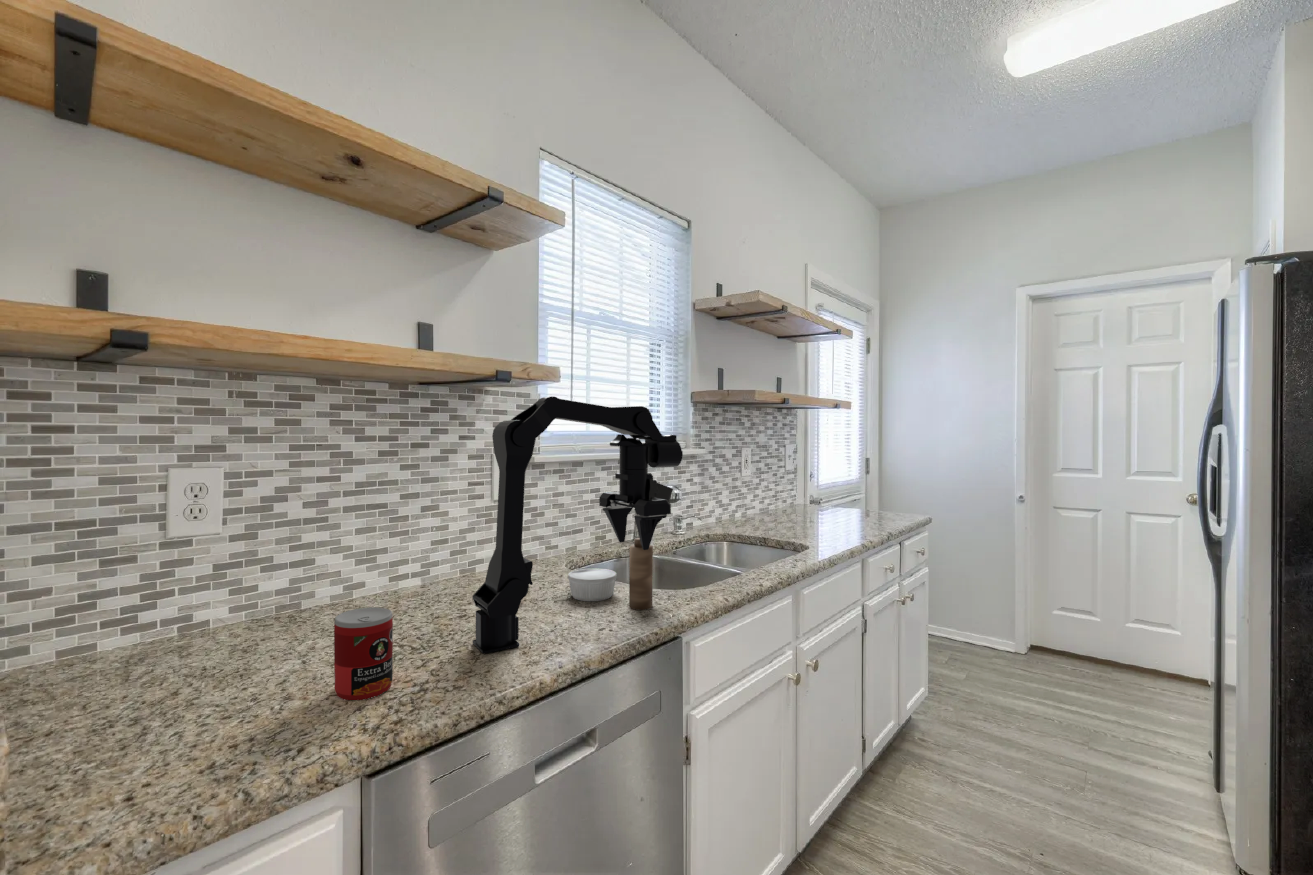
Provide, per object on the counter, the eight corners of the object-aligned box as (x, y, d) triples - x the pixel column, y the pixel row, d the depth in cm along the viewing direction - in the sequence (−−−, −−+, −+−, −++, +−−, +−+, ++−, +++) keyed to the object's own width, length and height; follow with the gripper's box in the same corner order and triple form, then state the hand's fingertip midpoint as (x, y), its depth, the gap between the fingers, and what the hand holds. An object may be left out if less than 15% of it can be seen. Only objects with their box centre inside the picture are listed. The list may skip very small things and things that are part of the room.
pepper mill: (637, 611, 126) (637, 541, 126) (625, 605, 130) (625, 538, 130) (656, 607, 129) (657, 539, 129) (644, 601, 133) (644, 536, 133)
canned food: (354, 706, 82) (354, 627, 82) (322, 692, 87) (322, 617, 86) (404, 686, 89) (404, 612, 89) (372, 674, 93) (372, 604, 93)
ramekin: (589, 587, 145) (590, 565, 145) (626, 594, 139) (626, 572, 139) (557, 597, 136) (557, 574, 136) (594, 606, 130) (595, 582, 130)
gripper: (693, 470, 118) (693, 549, 118) (642, 465, 133) (642, 535, 133) (645, 472, 111) (645, 555, 112) (598, 466, 127) (598, 540, 127)
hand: (633, 545), depth 121 cm, fingers open, 9 cm apart
